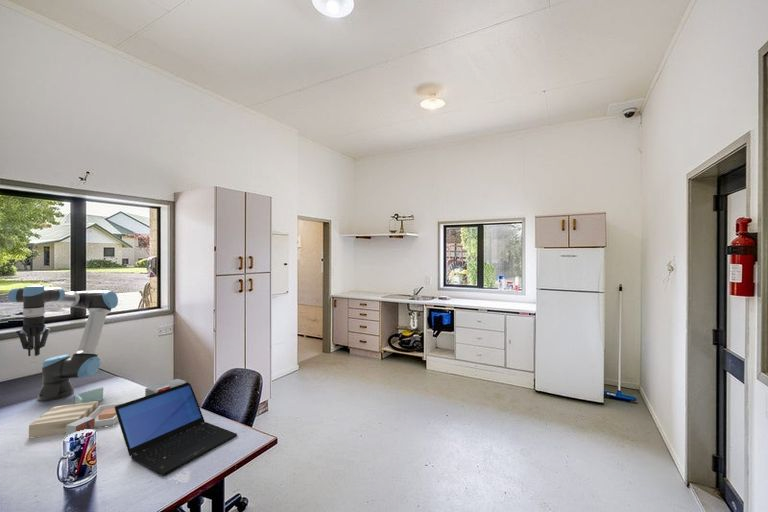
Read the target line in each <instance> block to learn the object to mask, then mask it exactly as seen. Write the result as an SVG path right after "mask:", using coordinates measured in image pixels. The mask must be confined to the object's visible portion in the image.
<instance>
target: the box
mask: <svg viewBox="0 0 768 512" xmlns="http://www.w3.org/2000/svg"><path fill="white" fill-rule="evenodd" d="M127 402H128V401H127ZM127 402H119V403H111V404H110V403H108V404H102V405H98V408H97V409H96V410H95V411H94V412H92V413H91V414H90V415H89V416H88V417H91V418H95V428H96V429H99V428H98V427H102V428H106V427H105V426H109V427H114V426H115V425H116V424H117V423H118V422H119V421H118V417H117V414H116V415H115V416H114V417H113V418H111V419H104V420H98V415H99V414H100V413H101V412H102V411H103V410H104V409H110V408H115V406H118V405H121V404H124V403H127ZM117 421H118V422H117ZM113 425H114V426H113Z"/></svg>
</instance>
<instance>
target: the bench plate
mask: <svg viewBox="0 0 768 512" xmlns="http://www.w3.org/2000/svg"><path fill="white" fill-rule="evenodd" d="M98 403H99V401H96V402H88V403H80V404H75V403H73V404H72V403H71V404H64V405H57V406H53V407H52V408H50V409H49V410H48V411H46V412H44V414H42V415H41V416H40V417H38V418H36V419H35V420H34V421H32V422H31V423H30V424H28V439H31V438H30V437H34V438H39V436H41V437H46V436H54V435H60V434H66V433H65V432H66V425H68V424H70V423H73V422H75V421H77V420H80V419H82V418H84V417H88V416H89V415H90V414H91V413H92V412H94V411H95V410H96V409H97V408H98V407H99V405H98Z"/></svg>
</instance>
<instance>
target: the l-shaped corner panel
mask: <svg viewBox="0 0 768 512" xmlns="http://www.w3.org/2000/svg"><path fill="white" fill-rule="evenodd" d="M96 401H98V406H100V401H104V387H99V388H94V389H91V390H86V391H82V392H78V393H75V394H74V404H80V403H88V402H96Z"/></svg>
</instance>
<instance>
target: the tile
mask: <svg viewBox="0 0 768 512" xmlns="http://www.w3.org/2000/svg"><path fill="white" fill-rule="evenodd" d="M115 415H116V411H115V408H110V409H104V410H103V411H102V412H101V413H100V414H99V415H98V420H104V419H111V418H113V417H114V416H115Z"/></svg>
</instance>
